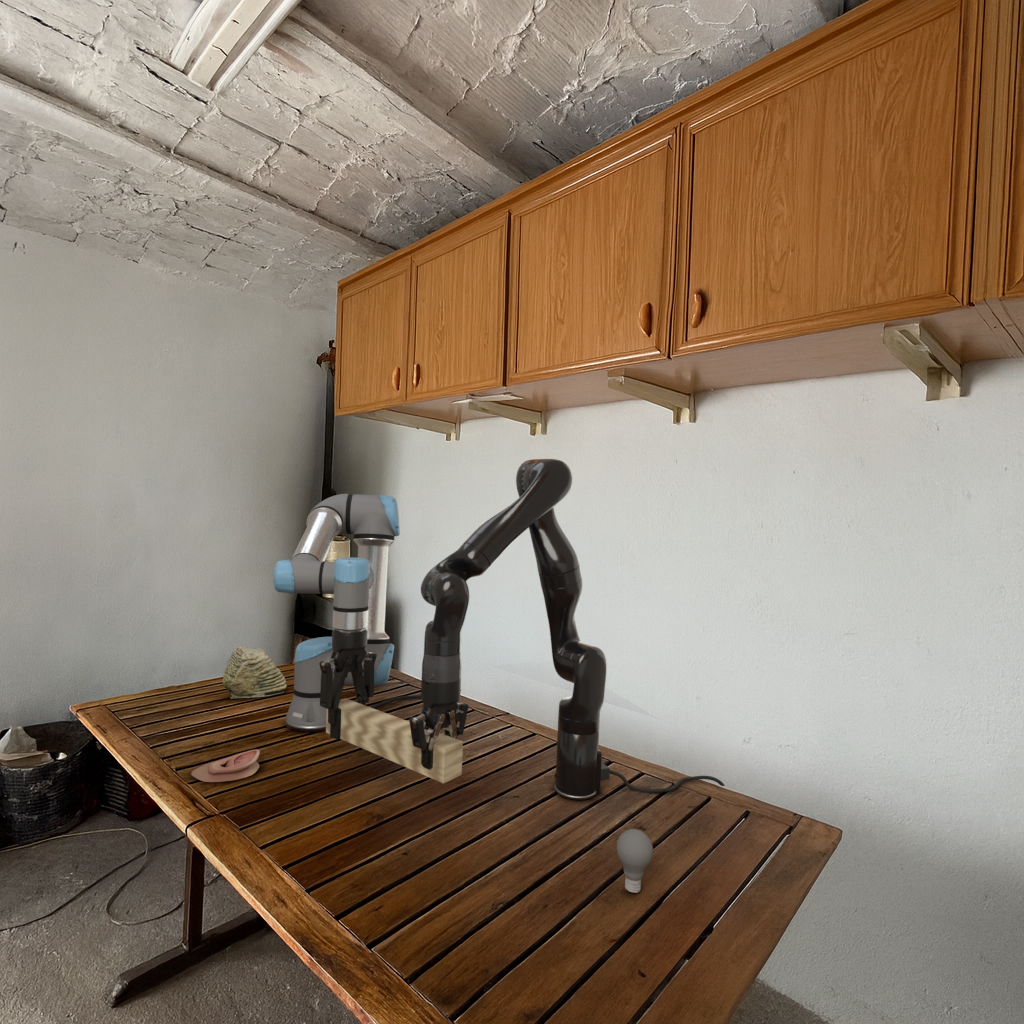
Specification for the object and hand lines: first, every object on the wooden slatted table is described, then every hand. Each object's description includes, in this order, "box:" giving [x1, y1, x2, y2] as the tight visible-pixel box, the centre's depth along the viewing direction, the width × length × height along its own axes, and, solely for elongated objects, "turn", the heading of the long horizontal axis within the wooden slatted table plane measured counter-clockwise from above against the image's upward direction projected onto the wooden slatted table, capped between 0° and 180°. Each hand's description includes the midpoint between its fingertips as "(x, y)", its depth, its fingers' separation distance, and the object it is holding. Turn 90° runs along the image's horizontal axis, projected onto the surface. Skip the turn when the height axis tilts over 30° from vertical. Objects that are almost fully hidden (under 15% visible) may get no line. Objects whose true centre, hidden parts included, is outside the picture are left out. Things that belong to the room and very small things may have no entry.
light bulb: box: [615, 828, 654, 894], centre depth 106 cm, size 6×6×10 cm
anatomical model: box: [190, 748, 261, 783], centre depth 143 cm, size 13×4×12 cm
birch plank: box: [325, 697, 464, 784], centre depth 130 cm, size 36×5×6 cm, turn 52°
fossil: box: [222, 646, 288, 699], centre depth 198 cm, size 9×18×15 cm, turn 132°
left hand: (346, 734), depth 139 cm, fingers closed on birch plank, 5 cm apart
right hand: (437, 762), depth 121 cm, fingers closed on birch plank, 5 cm apart
